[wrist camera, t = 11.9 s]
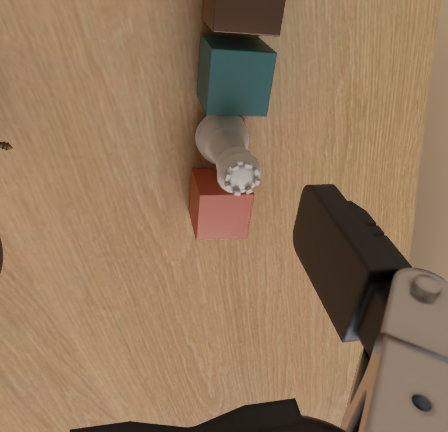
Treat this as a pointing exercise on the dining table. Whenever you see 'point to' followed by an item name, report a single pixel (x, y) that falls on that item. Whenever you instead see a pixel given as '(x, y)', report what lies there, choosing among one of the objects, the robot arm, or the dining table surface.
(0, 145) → the game die
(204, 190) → the terracotta block
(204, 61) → the teal block
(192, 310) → the dining table surface
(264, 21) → the walnut block
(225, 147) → the rook chess piece
